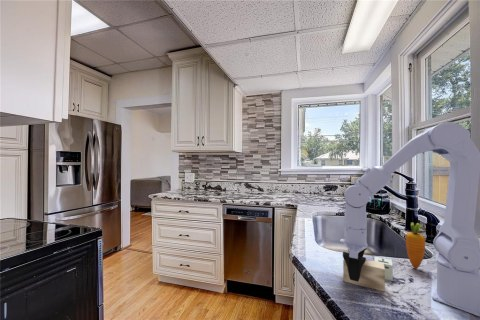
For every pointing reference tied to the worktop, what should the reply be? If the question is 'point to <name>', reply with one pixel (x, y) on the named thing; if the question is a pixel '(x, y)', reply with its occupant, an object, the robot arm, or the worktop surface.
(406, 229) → the worktop surface
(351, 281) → the beech block
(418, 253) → the carrot
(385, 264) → the lettered cube
